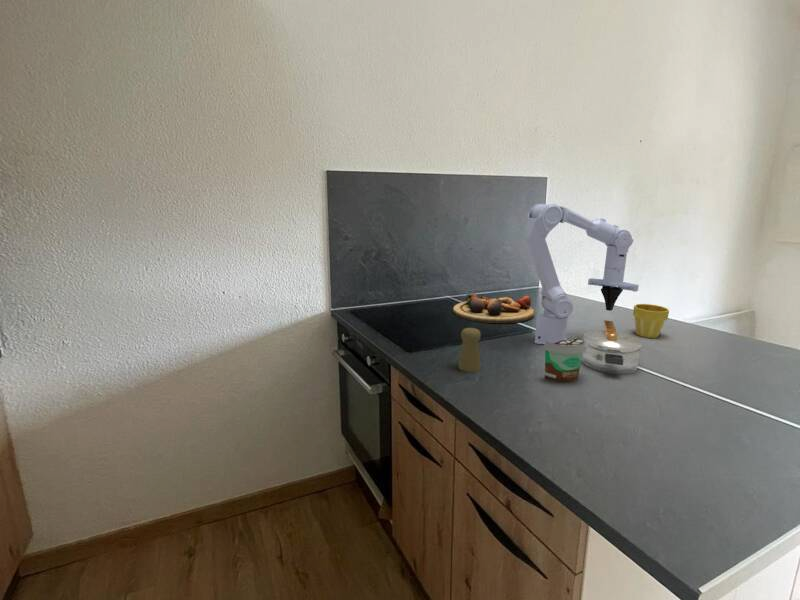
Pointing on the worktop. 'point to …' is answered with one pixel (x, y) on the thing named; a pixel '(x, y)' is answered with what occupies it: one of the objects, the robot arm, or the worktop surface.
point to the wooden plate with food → (494, 309)
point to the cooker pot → (610, 360)
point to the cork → (470, 350)
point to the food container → (564, 359)
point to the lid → (612, 340)
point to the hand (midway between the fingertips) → (609, 309)
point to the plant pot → (649, 319)
